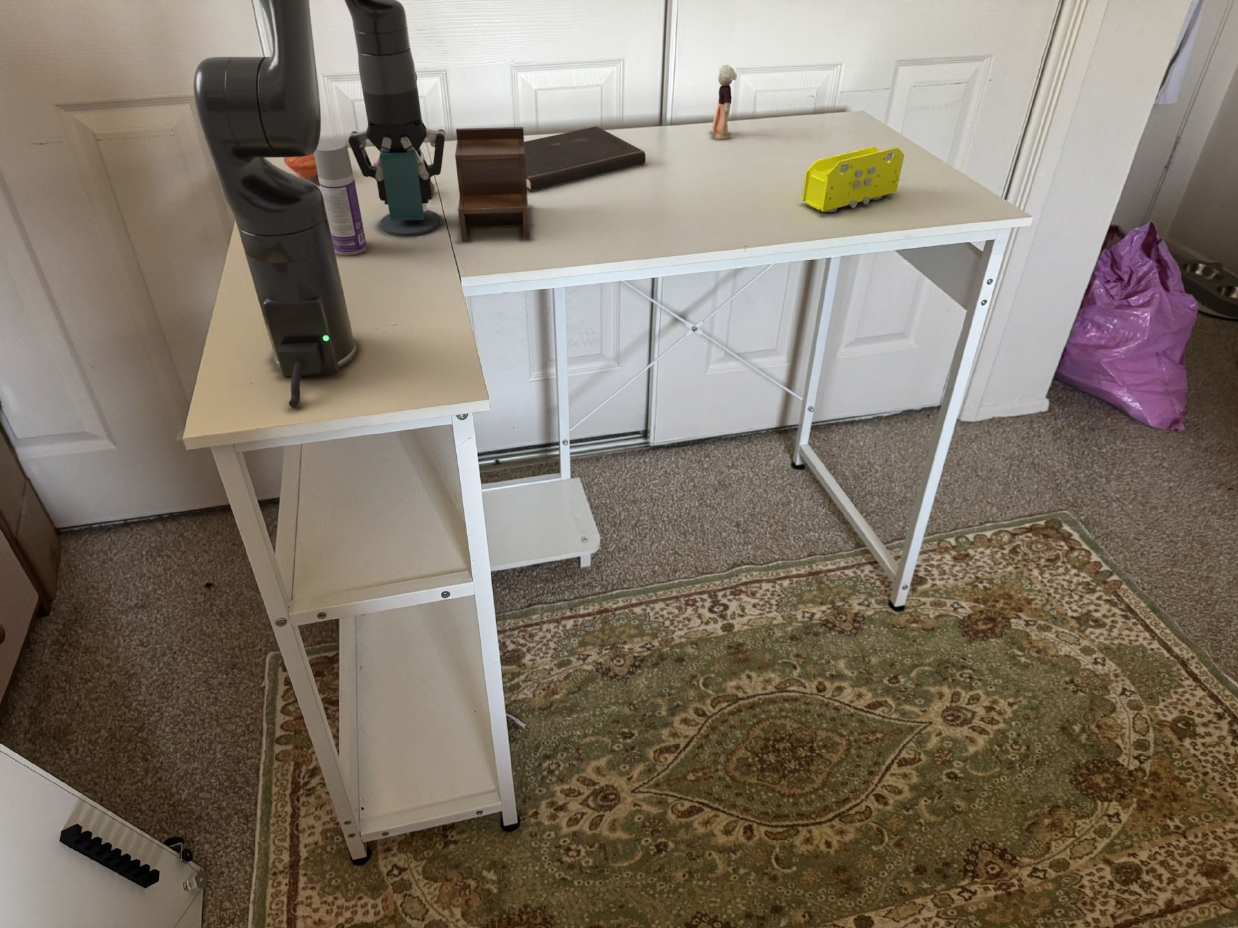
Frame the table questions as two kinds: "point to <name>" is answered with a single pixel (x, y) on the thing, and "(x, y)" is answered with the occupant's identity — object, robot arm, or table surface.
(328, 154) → the container
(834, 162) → the yellow toy chassis
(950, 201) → the table surface
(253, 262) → the robot arm
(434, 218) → the coaster
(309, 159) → the pot
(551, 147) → the hardcover book
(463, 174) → the shelf
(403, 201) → the holder
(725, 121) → the grandmother figurine
